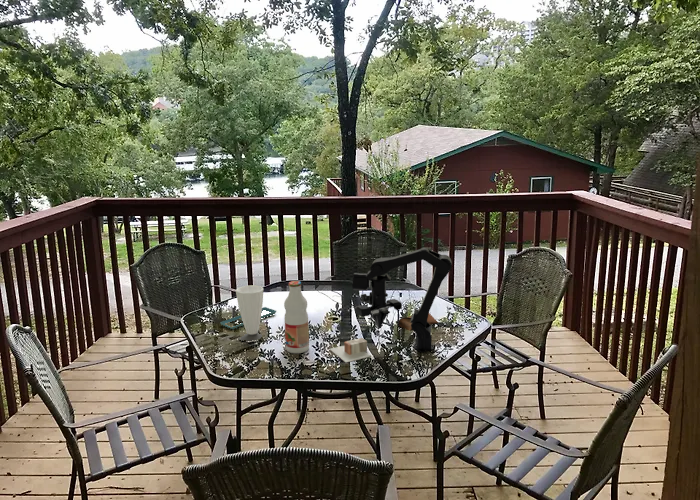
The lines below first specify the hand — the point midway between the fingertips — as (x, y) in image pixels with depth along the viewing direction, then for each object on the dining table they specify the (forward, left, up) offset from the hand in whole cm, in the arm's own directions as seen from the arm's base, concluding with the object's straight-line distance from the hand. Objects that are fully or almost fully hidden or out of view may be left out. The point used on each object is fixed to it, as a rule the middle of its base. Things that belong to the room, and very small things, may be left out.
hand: (378, 327), depth 210 cm
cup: (+35, +42, -8) cm, 55 cm away
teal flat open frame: (+56, +37, -9) cm, 68 cm away
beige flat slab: (0, +13, -8) cm, 16 cm away
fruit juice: (+14, +30, -8) cm, 34 cm away
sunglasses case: (+12, -28, -9) cm, 32 cm away
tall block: (0, +7, -6) cm, 9 cm away
